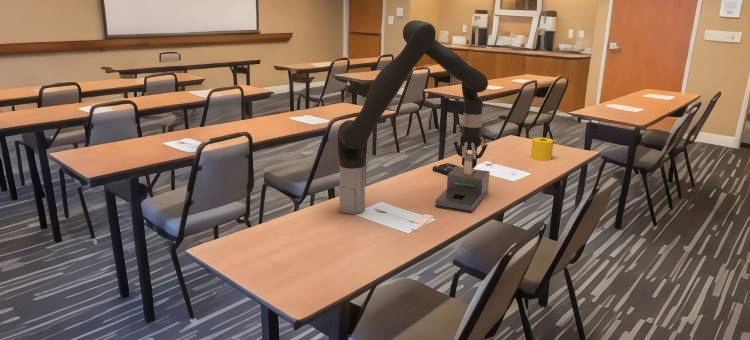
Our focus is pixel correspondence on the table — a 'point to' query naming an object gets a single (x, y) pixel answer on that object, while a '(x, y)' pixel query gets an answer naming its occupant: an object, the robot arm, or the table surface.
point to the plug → (468, 164)
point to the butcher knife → (422, 221)
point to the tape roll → (542, 149)
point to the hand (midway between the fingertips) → (469, 166)
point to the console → (464, 190)
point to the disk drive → (444, 168)
